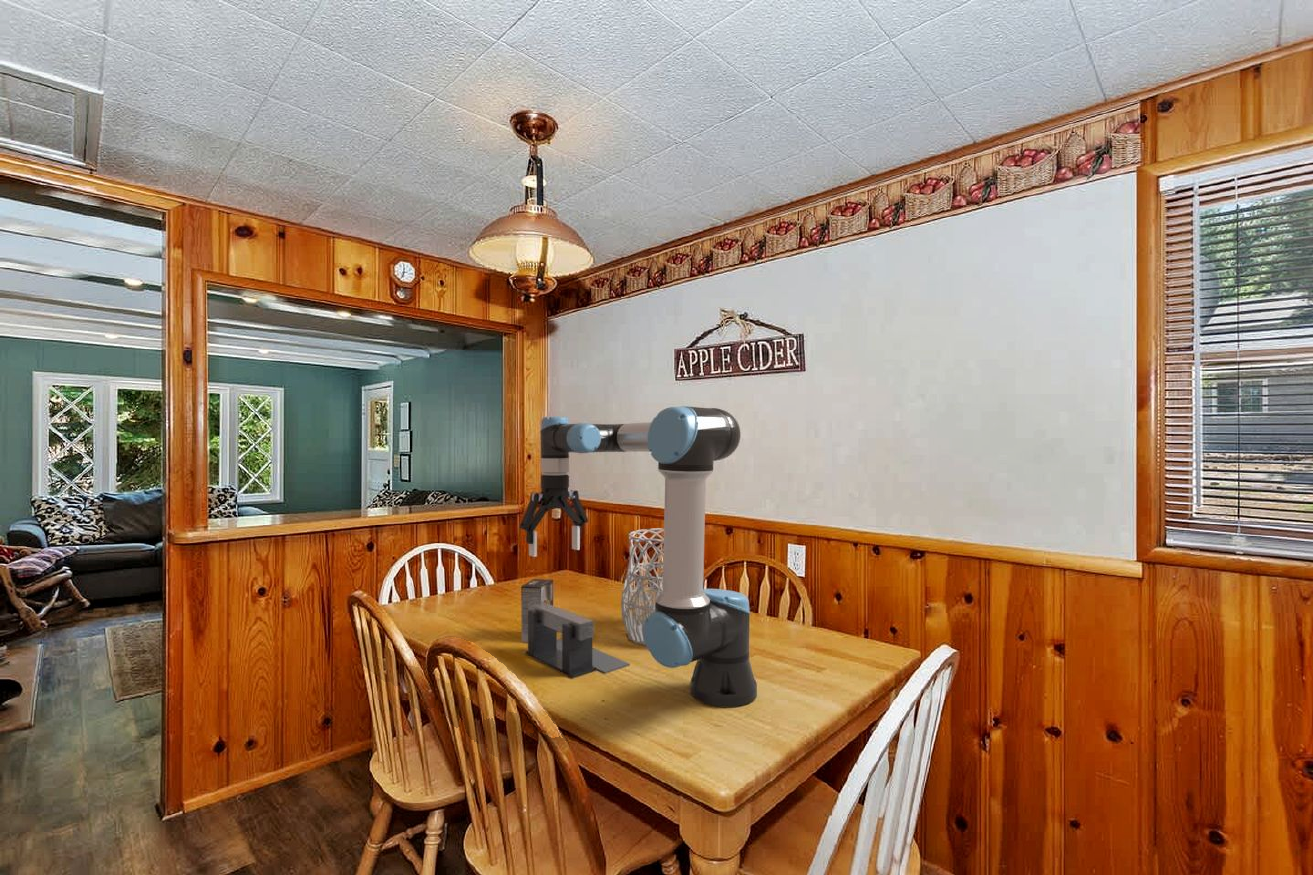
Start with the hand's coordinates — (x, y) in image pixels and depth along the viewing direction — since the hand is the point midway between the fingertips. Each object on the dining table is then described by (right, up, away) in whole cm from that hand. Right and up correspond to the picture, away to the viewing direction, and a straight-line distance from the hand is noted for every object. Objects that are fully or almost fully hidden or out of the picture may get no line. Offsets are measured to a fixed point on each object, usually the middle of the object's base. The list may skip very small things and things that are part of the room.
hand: (554, 552), depth 162 cm
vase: (+29, -27, +14) cm, 42 cm away
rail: (+2, -18, -7) cm, 19 cm away
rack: (+2, -27, -7) cm, 28 cm away
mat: (+8, -27, -1) cm, 28 cm away
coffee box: (-7, -27, +12) cm, 30 cm away
